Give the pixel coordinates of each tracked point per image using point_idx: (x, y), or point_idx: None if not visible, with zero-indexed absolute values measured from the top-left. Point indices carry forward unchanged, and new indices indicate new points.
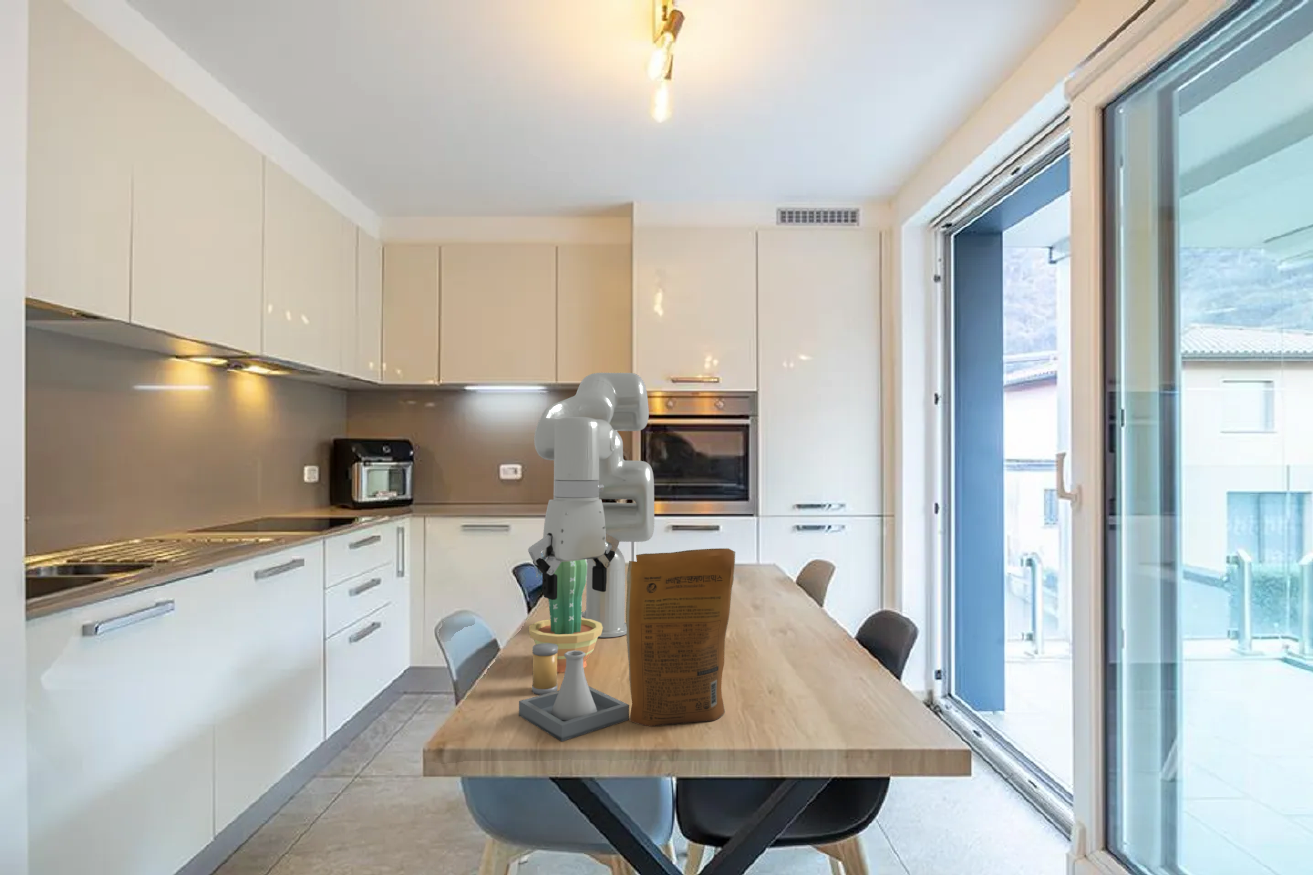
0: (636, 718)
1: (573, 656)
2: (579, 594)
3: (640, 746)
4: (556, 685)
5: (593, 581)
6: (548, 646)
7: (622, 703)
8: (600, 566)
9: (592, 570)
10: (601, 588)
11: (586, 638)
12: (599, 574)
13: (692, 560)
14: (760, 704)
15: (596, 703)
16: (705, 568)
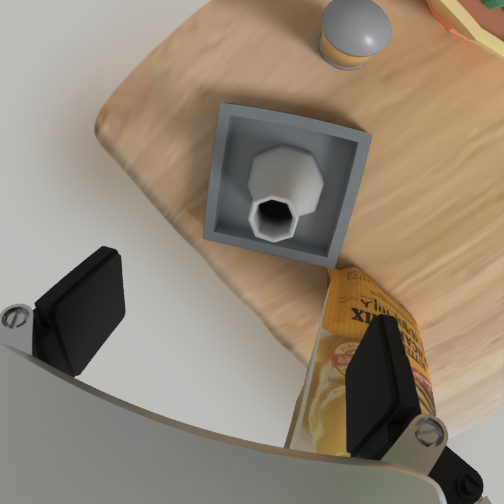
0: (328, 276)
1: (253, 232)
2: None
3: (270, 313)
4: (359, 65)
5: (374, 349)
6: (364, 29)
7: (332, 257)
8: (362, 455)
9: (387, 388)
10: (346, 377)
11: (493, 53)
12: (357, 417)
13: None
14: (456, 352)
15: (344, 184)
16: None
